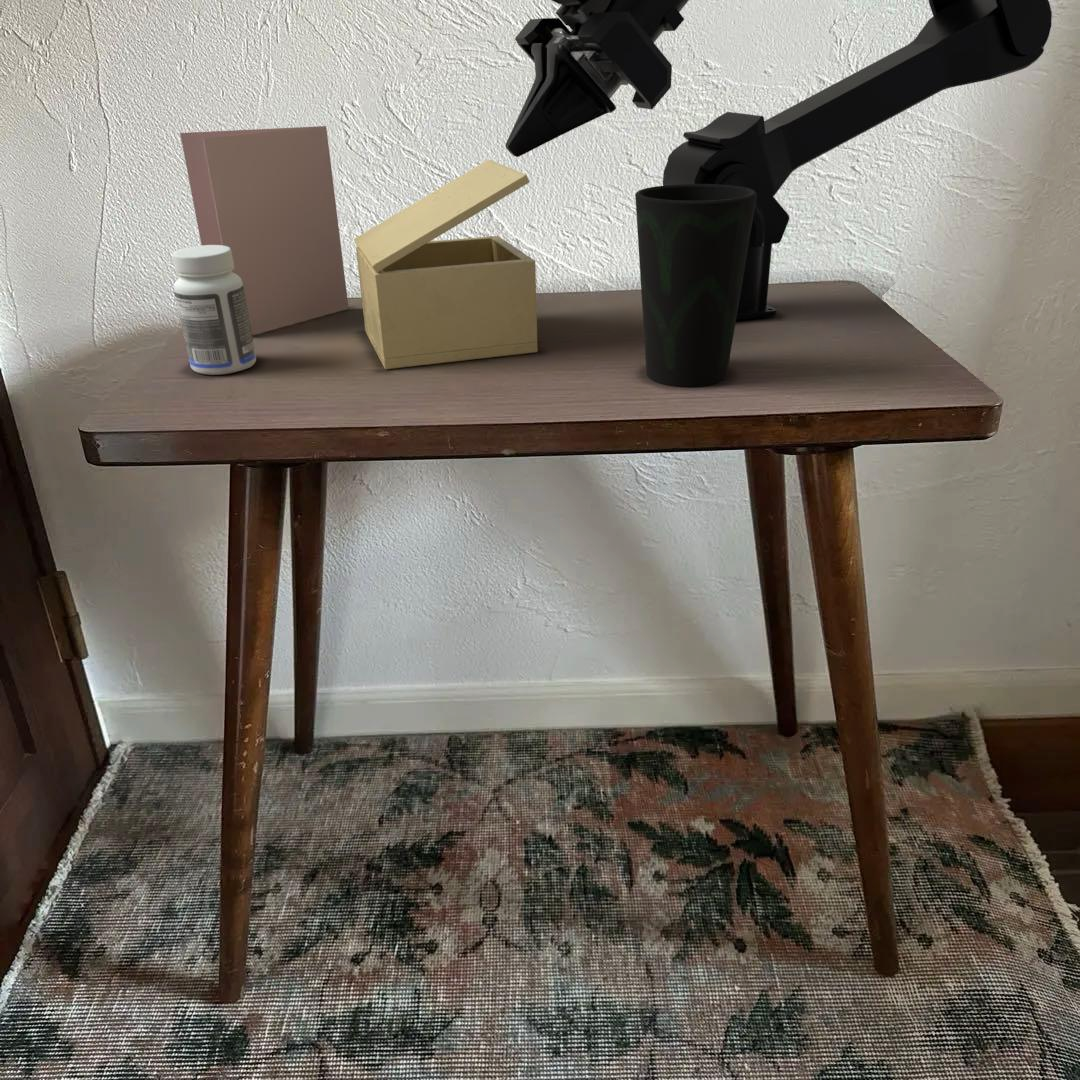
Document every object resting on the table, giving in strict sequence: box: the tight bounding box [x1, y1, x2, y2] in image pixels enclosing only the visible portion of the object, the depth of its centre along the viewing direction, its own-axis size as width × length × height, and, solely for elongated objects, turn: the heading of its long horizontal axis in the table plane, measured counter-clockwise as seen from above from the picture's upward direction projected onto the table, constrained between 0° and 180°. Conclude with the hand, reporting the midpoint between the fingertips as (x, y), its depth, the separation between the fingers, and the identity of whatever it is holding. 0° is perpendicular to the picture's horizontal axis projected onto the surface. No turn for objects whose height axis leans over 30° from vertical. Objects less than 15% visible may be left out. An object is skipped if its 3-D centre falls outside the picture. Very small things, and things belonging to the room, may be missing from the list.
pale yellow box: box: [355, 235, 539, 370], centre depth 72 cm, size 12×11×7 cm
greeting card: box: [179, 125, 350, 336], centre depth 77 cm, size 11×7×15 cm, turn 105°
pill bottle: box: [171, 245, 257, 376], centre depth 68 cm, size 5×5×8 cm
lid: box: [353, 159, 530, 273], centre depth 69 cm, size 12×11×1 cm
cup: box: [634, 184, 757, 388], centre depth 62 cm, size 8×8×12 cm
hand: (510, 152), depth 69 cm, fingers closed
